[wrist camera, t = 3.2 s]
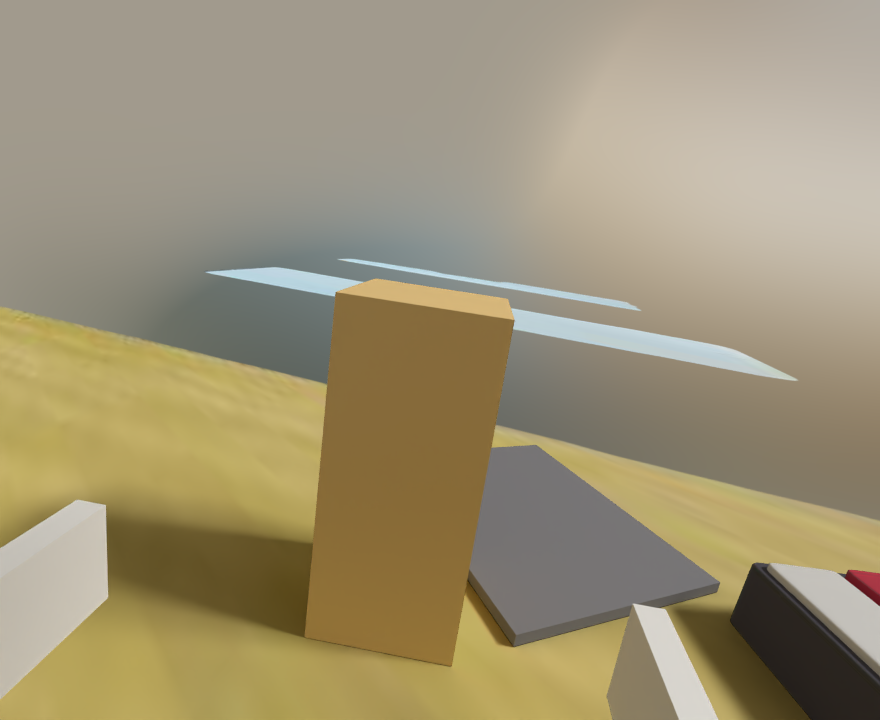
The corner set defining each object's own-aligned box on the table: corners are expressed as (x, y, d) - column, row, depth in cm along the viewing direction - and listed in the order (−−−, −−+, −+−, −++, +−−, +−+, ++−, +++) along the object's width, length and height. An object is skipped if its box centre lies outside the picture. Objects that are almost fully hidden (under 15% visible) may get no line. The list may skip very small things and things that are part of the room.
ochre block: (451, 666, 20) (514, 319, 16) (304, 637, 20) (335, 292, 17) (459, 569, 26) (507, 298, 22) (345, 548, 26) (375, 278, 22)
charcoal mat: (717, 591, 27) (720, 582, 27) (513, 646, 21) (516, 634, 21) (534, 451, 41) (536, 445, 41) (386, 461, 36) (387, 454, 36)
